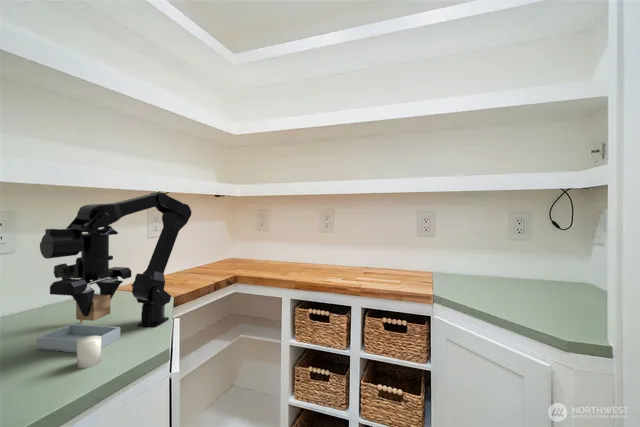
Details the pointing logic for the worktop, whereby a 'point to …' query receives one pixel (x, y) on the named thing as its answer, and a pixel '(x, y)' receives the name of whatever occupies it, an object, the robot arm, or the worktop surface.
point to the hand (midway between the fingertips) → (95, 312)
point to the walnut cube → (96, 308)
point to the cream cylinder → (88, 351)
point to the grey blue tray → (76, 337)
